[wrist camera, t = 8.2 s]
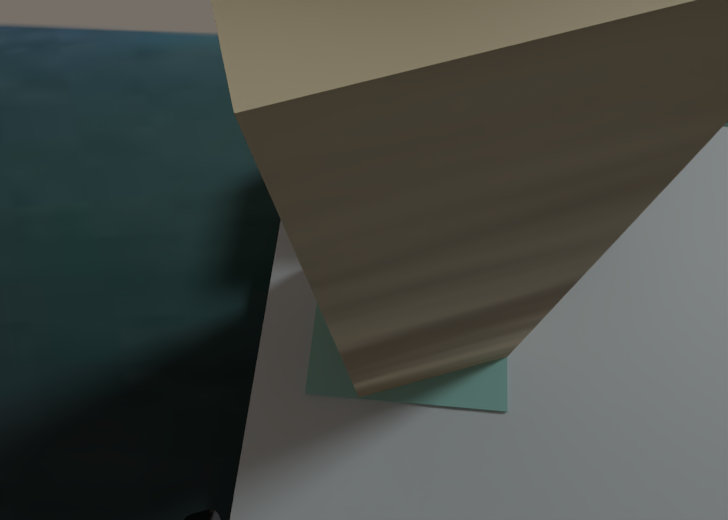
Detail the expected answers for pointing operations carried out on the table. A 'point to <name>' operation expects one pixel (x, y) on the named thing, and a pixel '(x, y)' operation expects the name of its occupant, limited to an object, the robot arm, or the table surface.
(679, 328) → the board
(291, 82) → the pillar
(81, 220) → the table surface
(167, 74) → the table surface
